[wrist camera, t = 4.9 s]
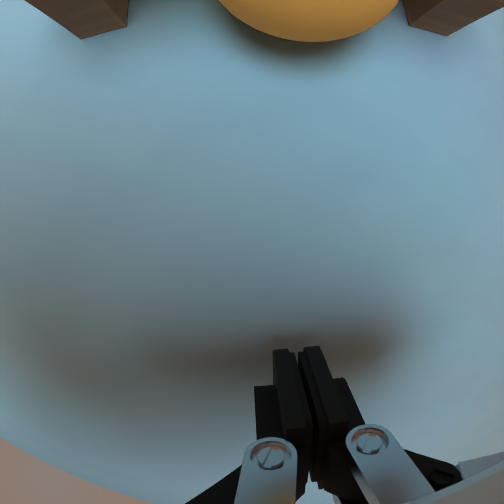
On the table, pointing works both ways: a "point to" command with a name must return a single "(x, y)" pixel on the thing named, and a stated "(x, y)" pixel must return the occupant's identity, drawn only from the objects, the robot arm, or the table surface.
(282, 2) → the ball
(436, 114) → the table surface
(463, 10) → the bridge
